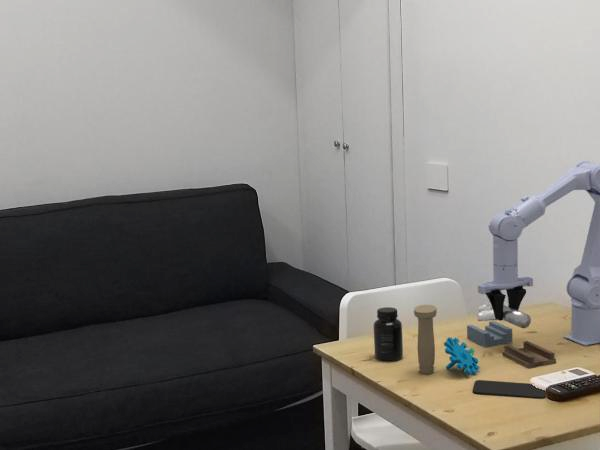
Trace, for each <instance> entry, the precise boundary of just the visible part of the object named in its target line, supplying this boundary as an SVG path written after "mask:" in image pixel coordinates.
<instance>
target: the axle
mask: <svg viewBox="0 0 600 450" xmlns="http://www.w3.org/2000/svg"><path fill="white" fill-rule="evenodd" d="M508 306H509V305H508ZM508 306H505V305H503V320H502V321H504V322H507V323H510V324H511V325H514V326H516V327H518V328H521V329H527V328H528V327H529V326H530V325H531V323H532V318H531V315H529V314H528V313H525V312H523V311H520V310H516V309H513V308H511V307H508Z"/></svg>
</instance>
